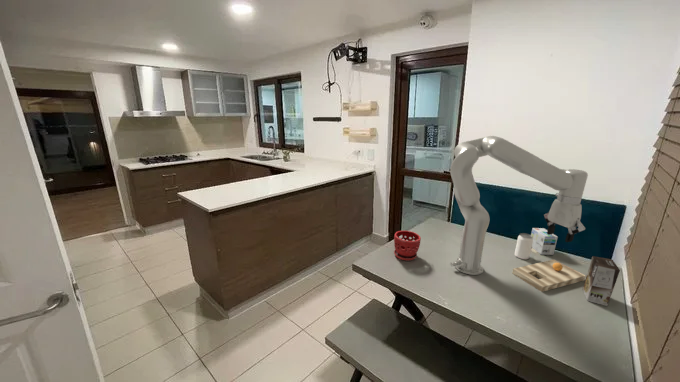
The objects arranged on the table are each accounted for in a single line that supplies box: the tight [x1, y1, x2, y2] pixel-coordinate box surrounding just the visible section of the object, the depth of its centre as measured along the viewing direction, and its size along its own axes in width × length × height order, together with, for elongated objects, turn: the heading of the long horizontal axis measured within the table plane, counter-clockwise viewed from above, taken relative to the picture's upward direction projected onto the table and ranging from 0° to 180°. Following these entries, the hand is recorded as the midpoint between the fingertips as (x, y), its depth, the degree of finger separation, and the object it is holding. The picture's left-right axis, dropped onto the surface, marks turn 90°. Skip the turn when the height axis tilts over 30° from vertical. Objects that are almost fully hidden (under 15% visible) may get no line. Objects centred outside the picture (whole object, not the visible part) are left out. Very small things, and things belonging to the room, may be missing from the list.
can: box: [514, 232, 533, 260], centre depth 138 cm, size 6×6×12 cm
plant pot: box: [393, 230, 422, 262], centre depth 139 cm, size 13×13×12 cm
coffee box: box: [582, 255, 621, 307], centre depth 107 cm, size 9×6×16 cm
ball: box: [553, 262, 563, 271], centre depth 123 cm, size 4×4×4 cm
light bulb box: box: [530, 227, 559, 256], centre depth 145 cm, size 11×7×11 cm, turn 178°
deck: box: [511, 259, 587, 293], centre depth 122 cm, size 26×14×2 cm, turn 108°
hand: (559, 237), depth 117 cm, fingers open, 6 cm apart
